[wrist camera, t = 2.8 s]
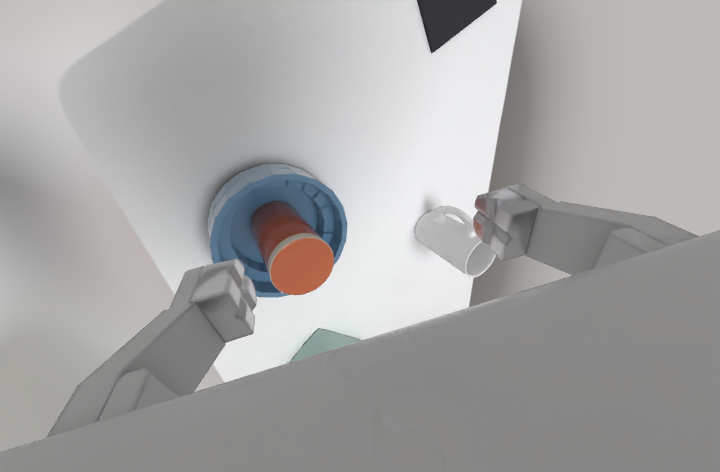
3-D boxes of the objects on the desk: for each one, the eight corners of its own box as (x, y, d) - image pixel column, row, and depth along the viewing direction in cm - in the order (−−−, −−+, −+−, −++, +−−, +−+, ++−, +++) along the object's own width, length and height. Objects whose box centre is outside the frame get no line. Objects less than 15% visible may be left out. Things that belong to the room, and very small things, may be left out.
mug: (442, 233, 54) (496, 264, 44) (415, 249, 52) (465, 285, 42) (440, 187, 48) (500, 210, 39) (409, 202, 46) (465, 231, 37)
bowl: (174, 220, 30) (172, 242, 26) (285, 135, 32) (300, 143, 28) (266, 293, 40) (275, 317, 36) (348, 224, 42) (366, 240, 38)
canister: (237, 223, 33) (254, 271, 25) (280, 189, 34) (311, 224, 26) (272, 256, 37) (297, 306, 29) (309, 225, 38) (345, 265, 30)
